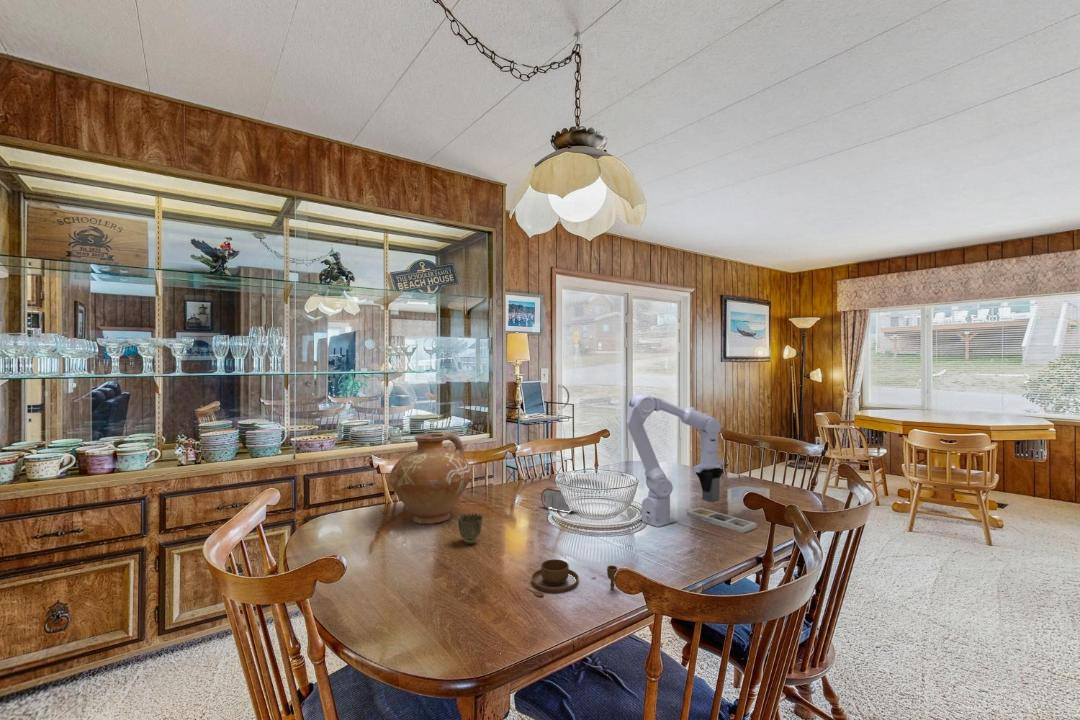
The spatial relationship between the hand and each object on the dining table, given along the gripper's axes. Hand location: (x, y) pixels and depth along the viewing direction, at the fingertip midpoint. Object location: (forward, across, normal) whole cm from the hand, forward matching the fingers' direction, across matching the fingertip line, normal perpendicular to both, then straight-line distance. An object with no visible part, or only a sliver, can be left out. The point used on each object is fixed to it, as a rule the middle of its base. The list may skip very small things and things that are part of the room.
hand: (709, 490), depth 170 cm
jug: (+10, -77, +59) cm, 98 cm away
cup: (+10, -77, +30) cm, 83 cm away
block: (+3, 0, 0) cm, 3 cm away
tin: (+10, -36, +38) cm, 54 cm away
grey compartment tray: (+10, 0, -4) cm, 11 cm away
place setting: (+11, -71, -10) cm, 73 cm away
